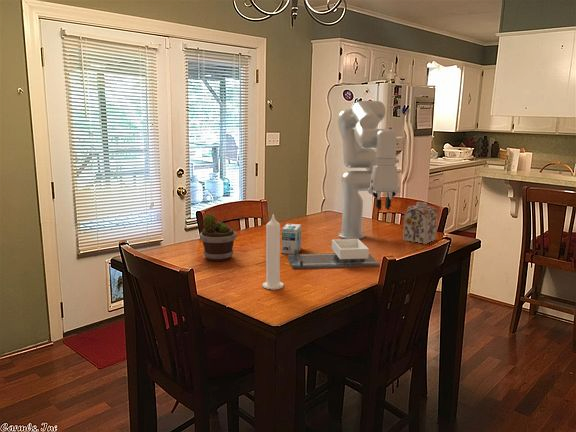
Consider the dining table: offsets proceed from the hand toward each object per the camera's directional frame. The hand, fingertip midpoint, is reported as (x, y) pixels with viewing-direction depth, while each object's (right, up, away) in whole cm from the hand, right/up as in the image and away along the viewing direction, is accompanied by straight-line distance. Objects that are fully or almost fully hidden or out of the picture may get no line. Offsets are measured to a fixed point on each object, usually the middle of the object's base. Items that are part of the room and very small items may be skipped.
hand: (383, 208), depth 191 cm
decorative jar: (+24, -15, +36) cm, 46 cm away
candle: (-43, -27, -26) cm, 57 cm away
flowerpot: (-66, -20, +5) cm, 69 cm away
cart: (-13, -20, +2) cm, 24 cm away
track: (-20, -21, +2) cm, 29 cm away
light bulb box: (-36, -18, +17) cm, 44 cm away
